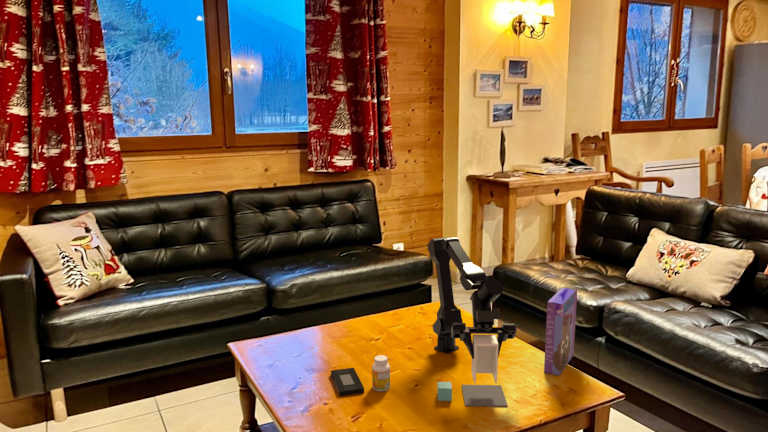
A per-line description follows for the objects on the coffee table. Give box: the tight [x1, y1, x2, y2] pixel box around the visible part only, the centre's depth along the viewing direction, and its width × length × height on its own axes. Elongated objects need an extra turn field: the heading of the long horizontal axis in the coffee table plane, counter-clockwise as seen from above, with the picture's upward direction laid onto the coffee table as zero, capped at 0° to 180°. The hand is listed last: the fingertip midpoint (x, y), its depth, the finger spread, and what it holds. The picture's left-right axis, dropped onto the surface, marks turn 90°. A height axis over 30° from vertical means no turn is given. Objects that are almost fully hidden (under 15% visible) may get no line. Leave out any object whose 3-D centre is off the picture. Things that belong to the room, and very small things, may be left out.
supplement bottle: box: [371, 354, 391, 392], centre depth 178 cm, size 5×5×10 cm
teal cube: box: [436, 381, 453, 402], centre depth 173 cm, size 4×4×4 cm
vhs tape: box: [330, 367, 365, 397], centre depth 182 cm, size 8×14×2 cm, turn 15°
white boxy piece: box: [471, 334, 499, 384], centre depth 171 cm, size 7×7×12 cm
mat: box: [461, 384, 508, 408], centre depth 174 cm, size 12×12×1 cm
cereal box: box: [543, 286, 578, 377], centre depth 192 cm, size 17×5×24 cm, turn 148°
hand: (485, 358), depth 170 cm, fingers closed on white boxy piece, 7 cm apart
